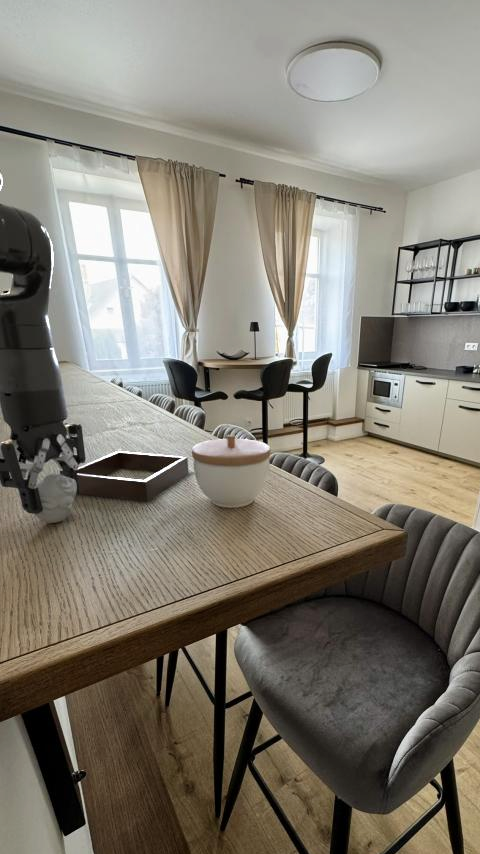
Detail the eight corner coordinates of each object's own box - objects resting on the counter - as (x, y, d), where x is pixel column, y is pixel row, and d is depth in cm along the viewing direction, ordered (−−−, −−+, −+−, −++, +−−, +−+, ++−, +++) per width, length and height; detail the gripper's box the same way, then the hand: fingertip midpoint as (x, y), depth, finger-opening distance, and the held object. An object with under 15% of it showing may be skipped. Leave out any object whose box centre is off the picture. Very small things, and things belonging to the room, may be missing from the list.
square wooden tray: (66, 492, 71) (63, 473, 70) (119, 467, 86) (117, 451, 84) (147, 501, 68) (145, 482, 67) (188, 474, 82) (187, 457, 81)
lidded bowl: (180, 508, 66) (175, 440, 62) (215, 483, 77) (212, 425, 73) (254, 519, 62) (254, 448, 58) (279, 491, 74) (280, 430, 70)
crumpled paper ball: (91, 517, 62) (84, 473, 59) (45, 534, 56) (35, 486, 54) (67, 508, 65) (59, 466, 62) (21, 524, 59) (11, 478, 57)
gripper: (47, 379, 61) (66, 484, 67) (-46, 390, 48) (-11, 519, 54) (91, 381, 59) (107, 489, 65) (8, 393, 46) (37, 526, 52)
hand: (54, 502), depth 60 cm, fingers closed on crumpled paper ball, 6 cm apart
